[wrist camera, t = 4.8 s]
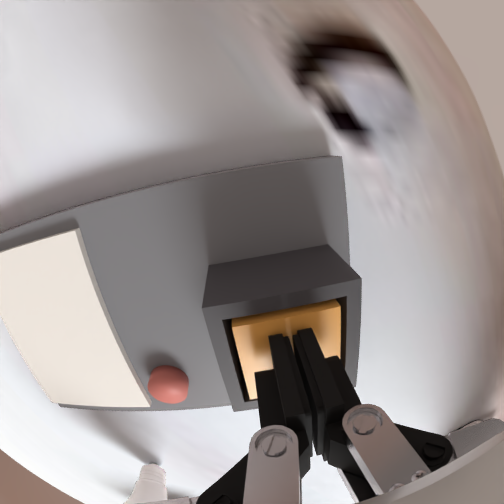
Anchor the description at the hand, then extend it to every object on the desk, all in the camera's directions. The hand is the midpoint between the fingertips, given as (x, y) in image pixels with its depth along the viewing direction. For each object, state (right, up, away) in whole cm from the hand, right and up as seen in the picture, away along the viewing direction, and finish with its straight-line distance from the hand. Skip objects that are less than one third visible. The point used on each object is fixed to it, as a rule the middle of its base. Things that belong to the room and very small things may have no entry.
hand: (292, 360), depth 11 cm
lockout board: (-7, +1, +5) cm, 9 cm away
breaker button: (0, +1, +2) cm, 3 cm away
